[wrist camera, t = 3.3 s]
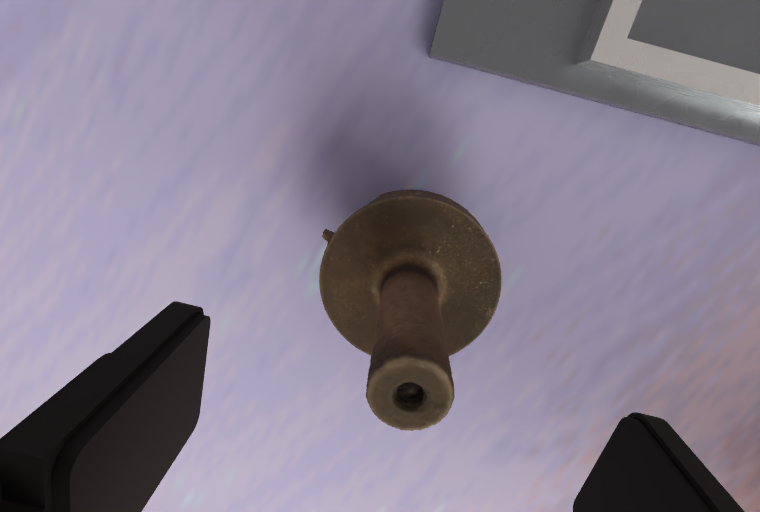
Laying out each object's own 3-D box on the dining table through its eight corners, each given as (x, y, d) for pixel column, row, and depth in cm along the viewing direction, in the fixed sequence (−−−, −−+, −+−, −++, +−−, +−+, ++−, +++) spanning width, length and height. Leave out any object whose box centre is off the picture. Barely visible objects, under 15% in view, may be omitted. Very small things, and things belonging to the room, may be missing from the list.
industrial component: (308, 245, 21) (194, 388, 10) (401, 141, 19) (391, 171, 8) (435, 353, 23) (461, 583, 12) (533, 267, 21) (681, 442, 10)
